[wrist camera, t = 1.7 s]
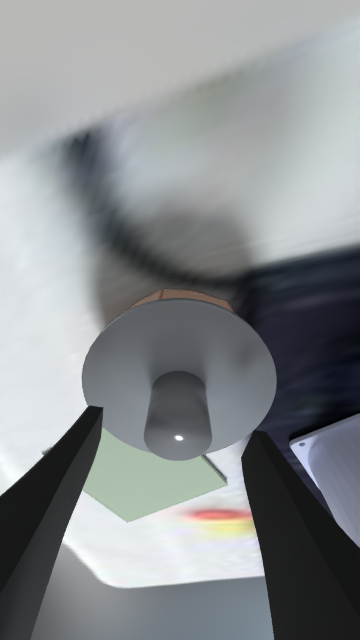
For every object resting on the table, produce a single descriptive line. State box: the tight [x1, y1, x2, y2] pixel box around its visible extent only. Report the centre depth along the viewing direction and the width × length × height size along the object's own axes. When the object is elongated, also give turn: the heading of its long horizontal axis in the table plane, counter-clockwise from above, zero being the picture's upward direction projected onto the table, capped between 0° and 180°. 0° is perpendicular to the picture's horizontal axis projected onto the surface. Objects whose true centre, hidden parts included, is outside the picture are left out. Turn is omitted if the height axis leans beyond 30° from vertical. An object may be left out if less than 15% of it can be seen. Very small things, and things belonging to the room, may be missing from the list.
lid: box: [82, 298, 277, 461], centre depth 13 cm, size 11×11×4 cm
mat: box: [82, 426, 228, 523], centre depth 23 cm, size 13×13×1 cm
